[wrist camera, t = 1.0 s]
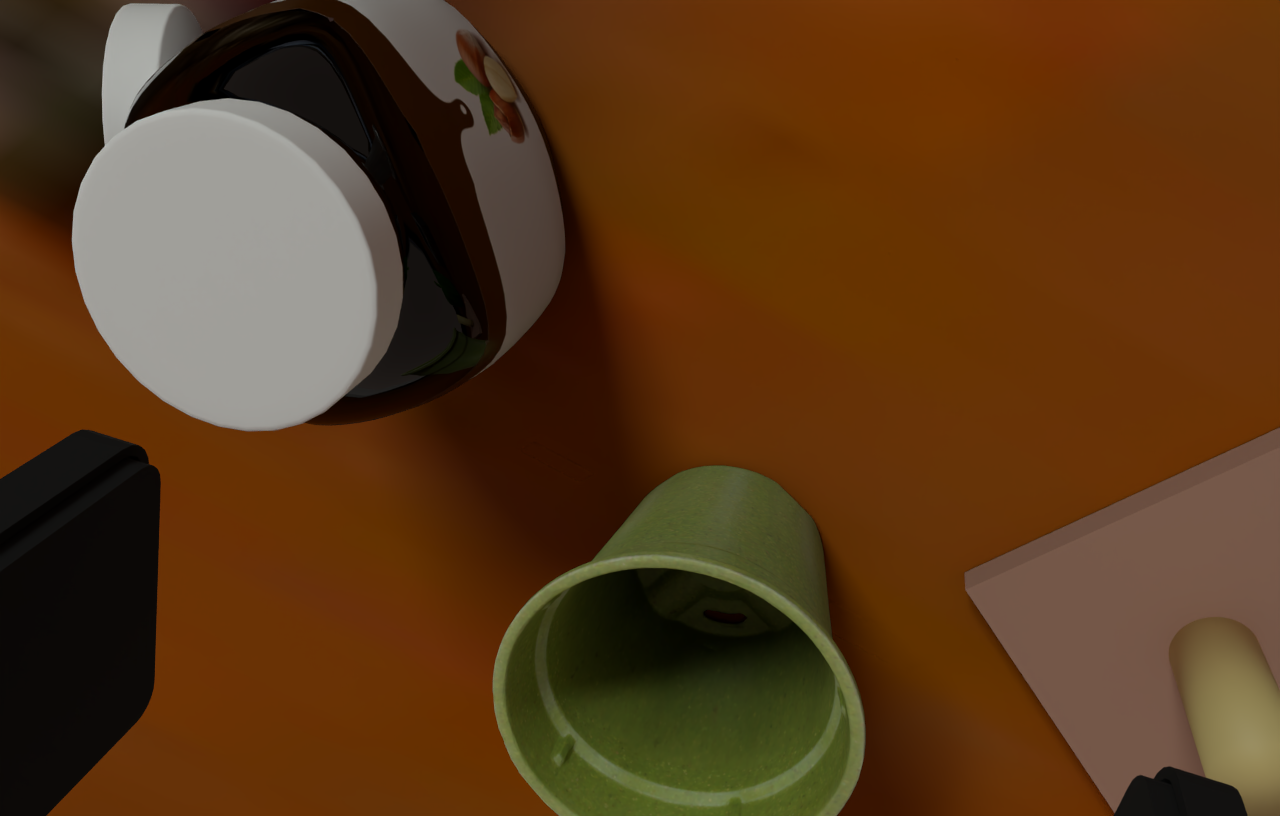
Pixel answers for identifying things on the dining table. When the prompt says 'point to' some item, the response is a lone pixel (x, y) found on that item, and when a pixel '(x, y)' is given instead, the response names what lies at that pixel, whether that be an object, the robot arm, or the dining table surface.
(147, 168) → the spread jar
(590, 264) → the dining table surface
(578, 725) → the plant pot
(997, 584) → the keeper
